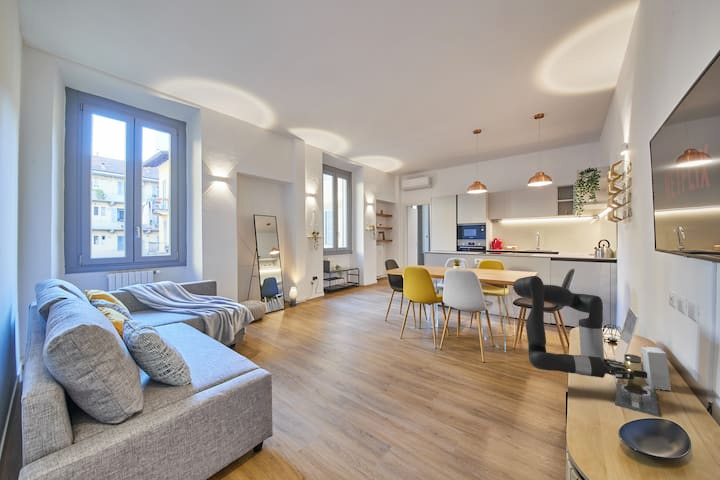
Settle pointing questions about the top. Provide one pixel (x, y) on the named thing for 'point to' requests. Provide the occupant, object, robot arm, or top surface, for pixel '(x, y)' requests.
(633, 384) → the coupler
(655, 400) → the socket base
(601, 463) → the top surface
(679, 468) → the top surface
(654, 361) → the skincare box
